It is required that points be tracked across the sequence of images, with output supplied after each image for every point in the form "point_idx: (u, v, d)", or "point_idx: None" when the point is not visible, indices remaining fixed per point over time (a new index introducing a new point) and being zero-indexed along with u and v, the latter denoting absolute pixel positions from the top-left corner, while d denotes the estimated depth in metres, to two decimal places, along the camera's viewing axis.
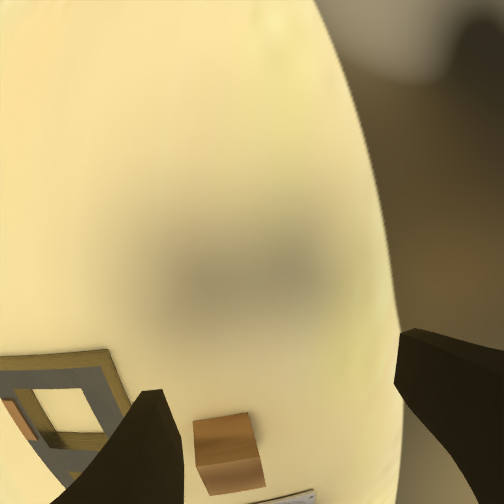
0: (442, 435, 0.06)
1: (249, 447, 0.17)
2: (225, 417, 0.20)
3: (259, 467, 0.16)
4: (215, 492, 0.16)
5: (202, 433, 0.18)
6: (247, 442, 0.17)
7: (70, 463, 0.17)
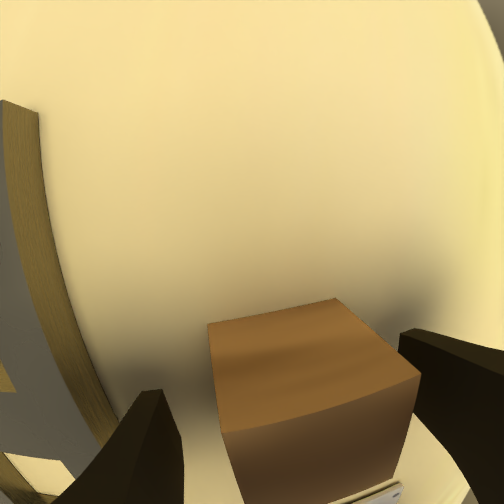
0: (442, 435, 0.06)
1: (380, 358, 0.06)
2: (287, 310, 0.09)
3: (406, 418, 0.05)
4: None
5: (234, 344, 0.08)
6: (367, 349, 0.06)
7: None
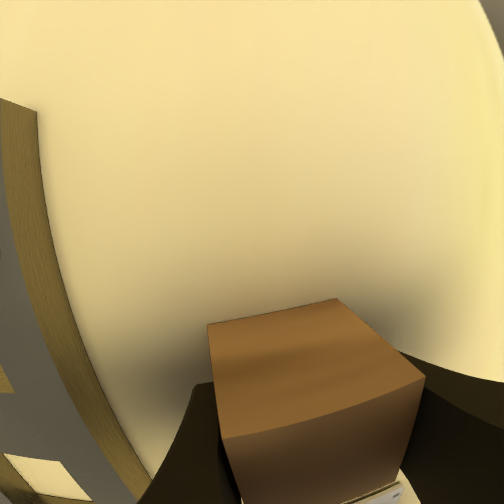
0: None
1: (383, 361, 0.06)
2: (288, 311, 0.09)
3: (410, 421, 0.05)
4: None
5: (235, 346, 0.07)
6: (371, 351, 0.06)
7: None
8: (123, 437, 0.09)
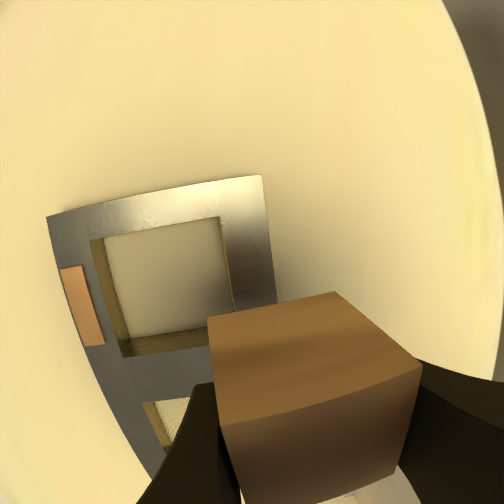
0: (399, 458, 0.06)
1: (381, 350, 0.06)
2: (287, 304, 0.09)
3: (408, 411, 0.05)
4: None
5: (234, 337, 0.08)
6: (368, 341, 0.06)
7: (152, 384, 0.15)
8: None
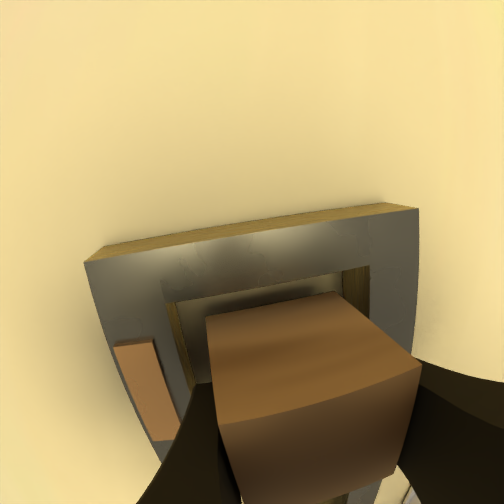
0: (399, 458, 0.06)
1: (380, 350, 0.06)
2: (285, 303, 0.09)
3: (407, 411, 0.05)
4: None
5: (232, 336, 0.08)
6: (367, 340, 0.06)
7: None
8: None
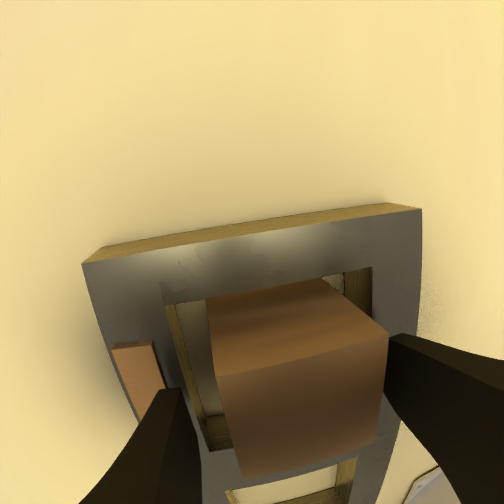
0: (429, 443, 0.06)
1: (353, 321, 0.07)
2: (276, 286, 0.10)
3: (380, 376, 0.07)
4: (259, 468, 0.07)
5: (229, 312, 0.09)
6: (343, 314, 0.08)
7: None
8: None
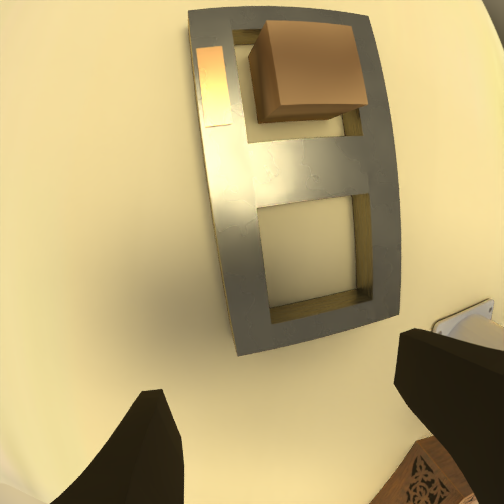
0: (442, 435, 0.06)
1: None
2: None
3: (354, 48, 0.11)
4: (291, 94, 0.11)
5: None
6: None
7: (274, 180, 0.14)
8: None
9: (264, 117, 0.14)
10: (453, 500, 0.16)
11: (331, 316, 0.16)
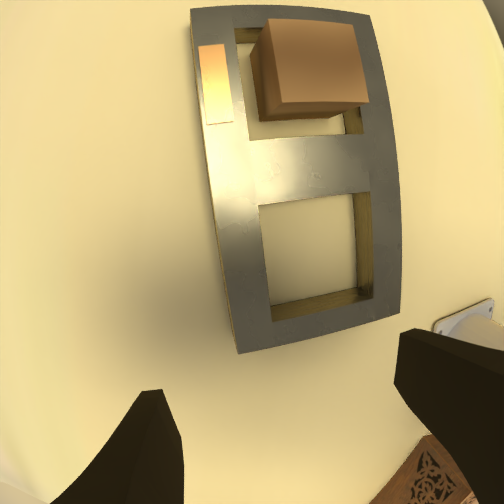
0: (442, 435, 0.06)
1: None
2: None
3: (355, 46, 0.11)
4: (293, 91, 0.11)
5: None
6: None
7: (275, 177, 0.14)
8: None
9: (265, 115, 0.14)
10: (460, 494, 0.16)
11: (331, 314, 0.16)
